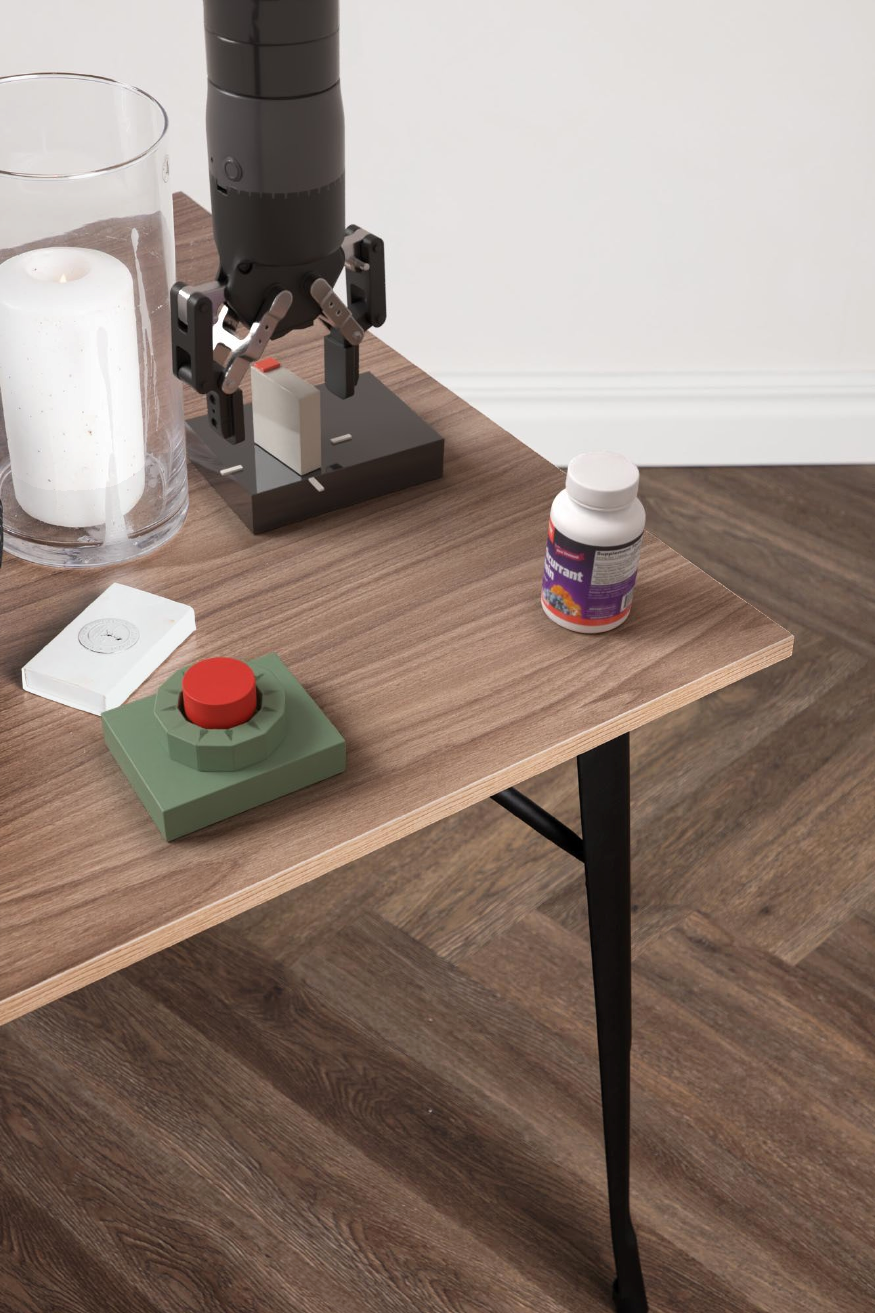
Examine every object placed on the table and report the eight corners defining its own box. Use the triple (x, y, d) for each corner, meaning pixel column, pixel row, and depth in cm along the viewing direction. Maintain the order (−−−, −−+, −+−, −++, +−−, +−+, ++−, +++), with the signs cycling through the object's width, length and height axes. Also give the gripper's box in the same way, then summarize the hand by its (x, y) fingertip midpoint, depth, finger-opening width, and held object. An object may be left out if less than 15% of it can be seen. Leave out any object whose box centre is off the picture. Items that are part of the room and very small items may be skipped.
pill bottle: (524, 591, 85) (538, 454, 79) (601, 571, 87) (621, 435, 81) (567, 645, 82) (585, 506, 75) (647, 623, 84) (671, 485, 77)
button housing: (166, 843, 69) (159, 785, 66) (104, 743, 74) (95, 686, 72) (346, 771, 73) (346, 714, 71) (276, 681, 78) (273, 625, 76)
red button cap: (202, 740, 70) (200, 713, 68) (173, 696, 72) (170, 670, 71) (268, 715, 71) (267, 689, 70) (237, 674, 73) (235, 648, 72)
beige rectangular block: (321, 467, 89) (320, 386, 86) (301, 475, 89) (299, 395, 85) (274, 433, 92) (270, 354, 88) (253, 442, 91) (249, 362, 88)
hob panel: (256, 551, 87) (254, 509, 85) (179, 460, 95) (175, 419, 93) (456, 488, 94) (458, 447, 92) (369, 408, 101) (369, 368, 99)
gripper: (335, 112, 84) (337, 357, 94) (128, 168, 76) (155, 427, 87) (419, 151, 80) (411, 403, 90) (209, 215, 72) (227, 481, 83)
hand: (286, 415), depth 89 cm, fingers open, 8 cm apart
